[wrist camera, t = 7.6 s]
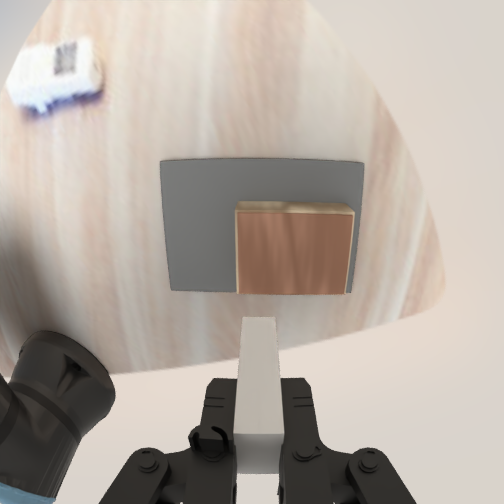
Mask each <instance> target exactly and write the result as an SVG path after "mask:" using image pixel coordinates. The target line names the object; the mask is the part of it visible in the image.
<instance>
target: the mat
mask: <svg viewBox="0 0 504 504" xmlns="http://www.w3.org/2000/svg"><path fill="white" fill-rule="evenodd" d="M160 177H161V193H162V207H163V220H164V231H165V242H166V252H167V261H168V270H169V278H170V286H171V290H175V291H203V292H237V287H236V245H235V208H236V205H237V203H238V201H282V202H322V203H346V204H347V205H348V206H349V207H350V208H351V209H352V210H353V211H354V212H355V217H354V227H353V237H352V246H351V255H350V263H349V271H348V279H347V286H346V293H351V289H352V282H353V275H354V268H355V260H356V252H357V244H358V235H359V226H360V216H361V204H362V192H363V178H364V163H360V162H346V161H329V160H307V159H269V158H230V159H192V160H171V161H160Z"/></svg>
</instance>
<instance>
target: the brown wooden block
mask: <svg viewBox="0 0 504 504" xmlns="http://www.w3.org/2000/svg"><path fill="white" fill-rule="evenodd" d="M354 217H355V212H354V211H353V210H352V209H351V208H350V207H349V206H348V205H347V204H346V203H322V202H282V201H238V203H237V205H236V208H235V245H236V287H237V294H267V295H345V293H346V286H347V279H348V271H349V263H350V255H351V246H352V237H353V227H354Z"/></svg>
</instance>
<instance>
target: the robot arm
mask: <svg viewBox="0 0 504 504" xmlns="http://www.w3.org/2000/svg"><path fill="white" fill-rule="evenodd" d="M114 401H115V388H114V385H113V382H112V380H111V378H110V376H109V375H108V373H107V371H106V370H105V369H104V367H103V366H102V365H101V364H100V363H99V361H98V360H97V359H96V358H95V357H94V356H93V355H92V354H90V353H89V352H88V351H87V350H86V349H85V348H83V347H82V346H81V345H79V344H78V343H76V342H75V341H73V340H71V339H69V338H67V337H65V336H63V335H61V334H58V333H55V332H50V331H39V332H36V333H34V334H33V335H31V336H30V338H29V339H28V340H27V341H26V342H25V343H24V344H23V346H22V348H21V350H20V353H19V360H18V362H17V364H16V366H15V369H14V371H13V374H12V377H11V380H10V382H9V383H8V384H7V382H6V381H5V380H4V378H3V376H2V375H1V373H0V503H1V504H52V503H53V502H55V500H56V496H57V494H58V491H59V489H60V487H61V484H62V482H63V479H64V477H65V475H66V472H67V470H68V468H69V465H70V463H71V461H72V458H73V456H74V454H75V452H76V449H77V447H78V445H79V443H80V441H81V439H82V437H83V436H84V435H85V434H87V433H88V432H89V431H90V430H91V429H92V428H93V427H94V426H95V425H96V424H97V423H98V422H99V421H100V420H102V419H103V418H105V417H106V416H107V414H108V413H109V412H110V410H111V407H112V405H113V403H114ZM188 439H189V442H190V446H191V447H190V448H188V449H186V450H184V451H180V452H175V453H169V454H164V453H163V452H161V451H159V450H158V449H155V448H141V449H139V450H137V451H135V452H134V453H133V454H132V455H131V456H130V457H129V459H128V460H127V462H126V463H125V465H124V466H123V468H122V469H121V471H120V472H119V474H118V475H117V477H116V478H115V480H114V481H113V483H112V484H111V486H110V487H109V489H108V490H107V492H106V493H105V495H104V496H103V498H102V499H101V501H100V502H99V504H180V502H183V504H236V495H237V483H236V479H237V473H240V474H241V473H242V474H279V487H278V493H277V495H279V504H333V502H334V503H335V504H416V502H415V500H414V499H413V497H412V496H411V494H410V492H409V491H408V489H407V488H406V486H405V485H404V483H403V482H402V480H401V478H400V477H399V475H398V474H397V472H396V470H395V469H394V467H393V466H392V464H391V463H390V461H389V459H388V458H387V456H386V455H385V454H384V453H383V452H382V451H380V450H378V449H375V448H362V449H359V450H358V451H356V452H354V453H353V454H349V453H342V452H337V451H334V450H331V449H329V448H327V447H326V446H325V445H324V444H323V443H322V441H321V440H320V437H319V433H318V427H317V421H316V415H315V409H314V404H313V399H312V392H311V387H310V385H309V384H308V383H307V381H306V380H305V379H304V378H280V368H279V356H278V343H277V331H276V319H275V317H242V329H241V341H240V354H239V366H238V379H227V378H214V379H213V380H212V381H211V382H210V383H209V385H208V386H207V389H206V395H205V400H204V407H203V412H202V417H201V423H200V425H199V426H196V427H195V428H194V429H193V430H192V431H191V432H190V434H189V436H188Z"/></svg>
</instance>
